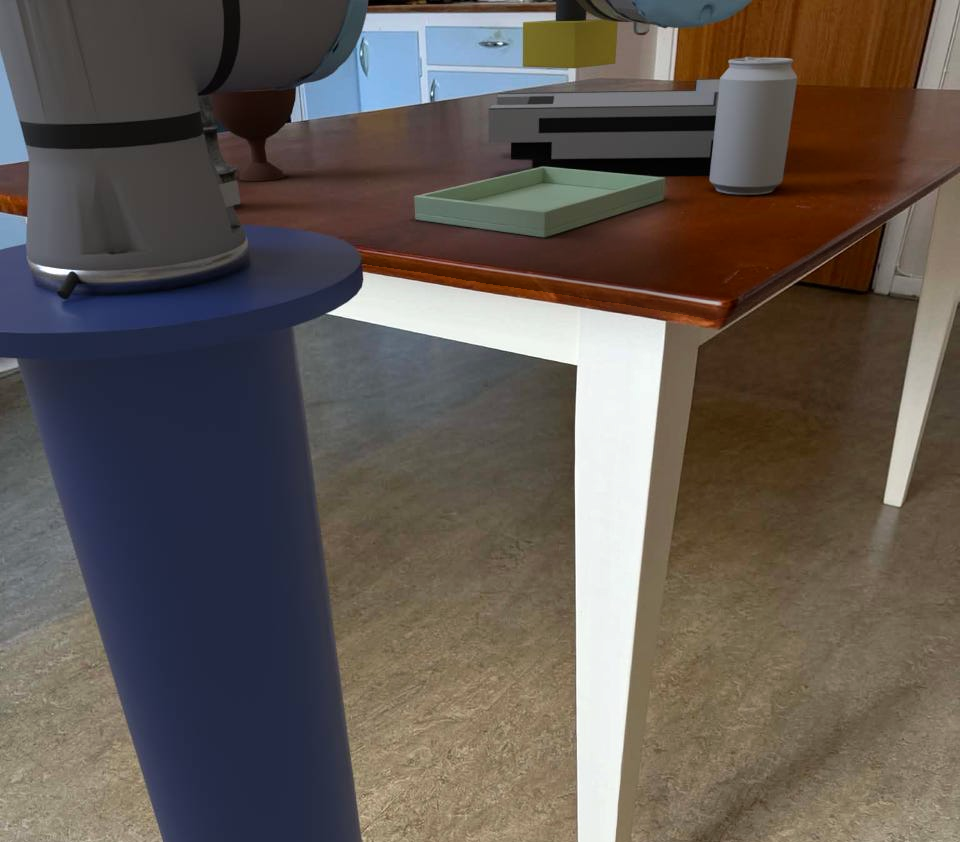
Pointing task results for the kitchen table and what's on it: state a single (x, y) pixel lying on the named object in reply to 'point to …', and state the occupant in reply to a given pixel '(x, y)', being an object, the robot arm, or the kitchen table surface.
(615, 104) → the game console
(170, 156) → the robot arm
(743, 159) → the can
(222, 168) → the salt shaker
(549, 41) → the sponge wand
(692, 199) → the kitchen table surface
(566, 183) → the tray
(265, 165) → the ice cream bowl
